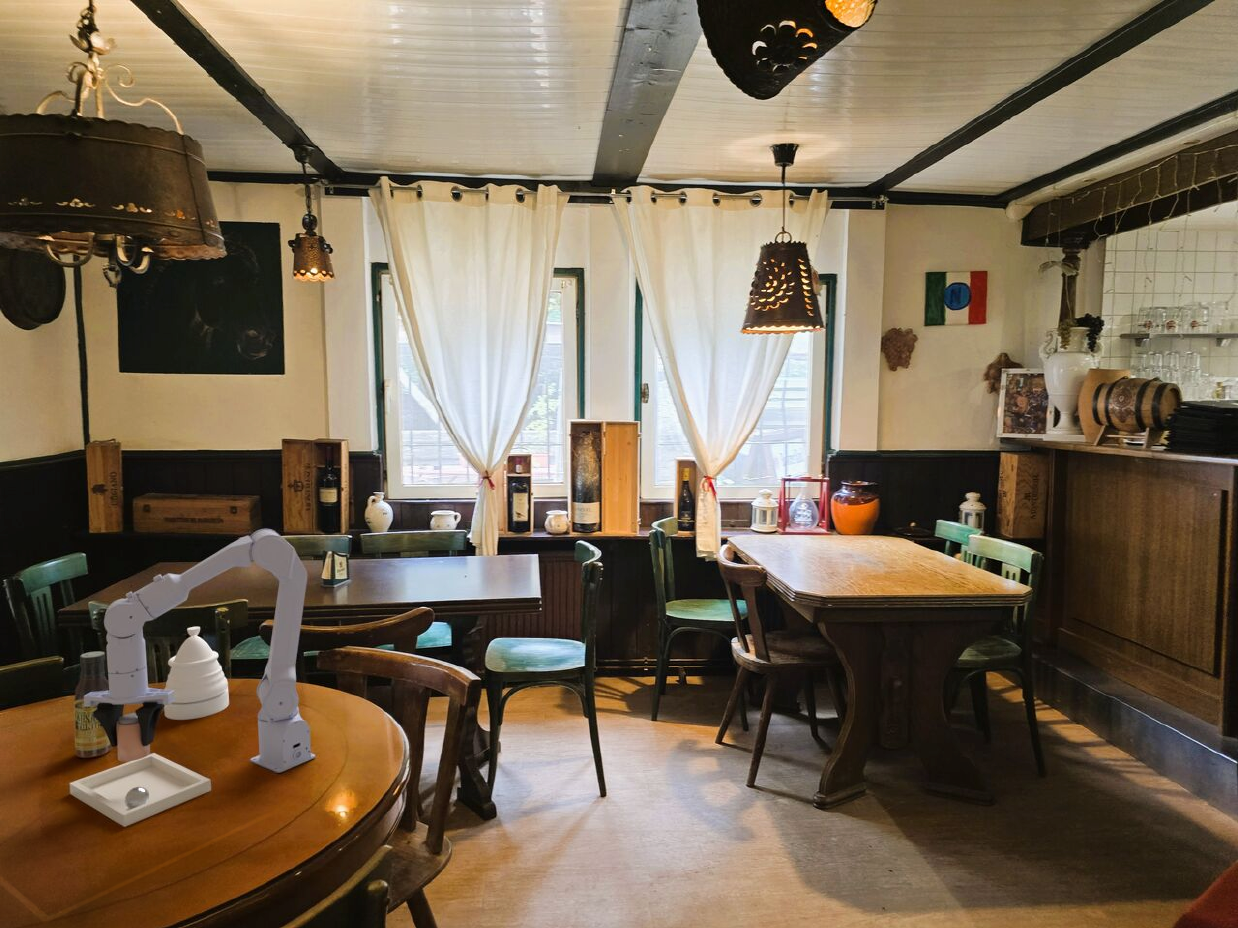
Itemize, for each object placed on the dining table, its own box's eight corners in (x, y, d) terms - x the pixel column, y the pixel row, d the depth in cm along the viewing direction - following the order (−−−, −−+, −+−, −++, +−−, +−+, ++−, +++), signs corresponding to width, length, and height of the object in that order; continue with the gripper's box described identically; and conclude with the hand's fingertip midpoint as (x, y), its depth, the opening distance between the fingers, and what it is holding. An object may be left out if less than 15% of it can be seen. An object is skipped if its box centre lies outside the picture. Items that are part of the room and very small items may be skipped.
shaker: (156, 750, 139) (154, 711, 139) (136, 761, 134) (134, 721, 134) (132, 749, 140) (130, 711, 139) (111, 760, 135) (109, 720, 135)
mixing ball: (153, 806, 131) (152, 786, 131) (131, 815, 128) (130, 794, 128) (143, 800, 133) (142, 780, 133) (121, 809, 130) (120, 789, 130)
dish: (211, 793, 136) (210, 779, 136) (124, 830, 125) (123, 815, 124) (154, 765, 147) (154, 752, 147) (70, 796, 136) (69, 782, 136)
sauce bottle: (70, 761, 150) (63, 660, 148) (83, 748, 156) (76, 651, 154) (109, 757, 151) (102, 657, 150) (120, 743, 157) (114, 647, 156)
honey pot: (168, 703, 179) (163, 626, 178) (230, 694, 184) (226, 619, 183) (160, 723, 167) (155, 641, 166) (227, 713, 172) (223, 634, 171)
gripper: (182, 660, 140) (186, 733, 141) (100, 661, 139) (105, 735, 140) (159, 673, 133) (164, 750, 134) (73, 675, 132) (78, 752, 133)
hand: (132, 744), depth 136 cm, fingers closed on shaker, 5 cm apart
